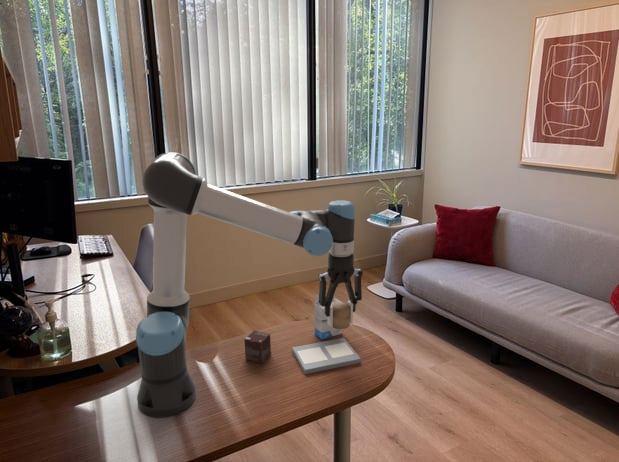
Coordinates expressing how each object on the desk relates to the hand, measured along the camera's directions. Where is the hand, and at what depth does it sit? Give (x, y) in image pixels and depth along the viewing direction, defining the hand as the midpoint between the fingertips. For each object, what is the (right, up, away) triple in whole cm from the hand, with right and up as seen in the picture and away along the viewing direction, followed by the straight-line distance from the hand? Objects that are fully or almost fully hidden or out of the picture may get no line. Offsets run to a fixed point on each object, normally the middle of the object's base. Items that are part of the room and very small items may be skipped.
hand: (339, 322), depth 143 cm
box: (-26, -11, +2) cm, 28 cm away
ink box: (-3, -7, +16) cm, 17 cm away
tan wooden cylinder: (0, 0, 0) cm, 0 cm away
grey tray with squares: (-4, -11, +2) cm, 12 cm away
